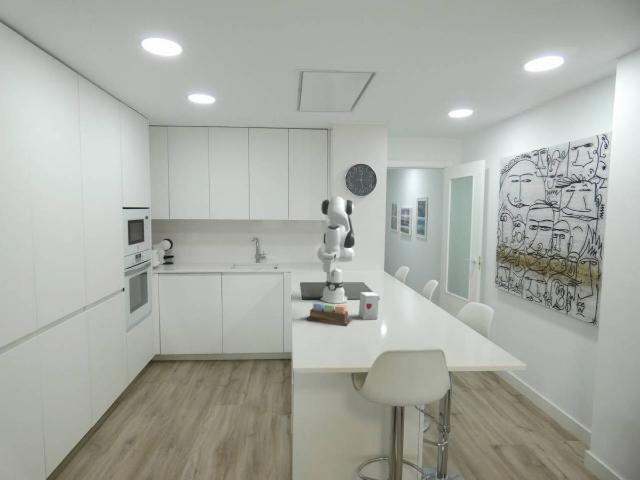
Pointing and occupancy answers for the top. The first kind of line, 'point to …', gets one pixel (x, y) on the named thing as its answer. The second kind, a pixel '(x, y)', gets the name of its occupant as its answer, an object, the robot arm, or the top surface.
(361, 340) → the top surface
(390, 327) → the top surface
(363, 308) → the supplement box
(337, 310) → the terracotta block
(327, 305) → the sage block
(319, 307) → the blue block
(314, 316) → the divided box
